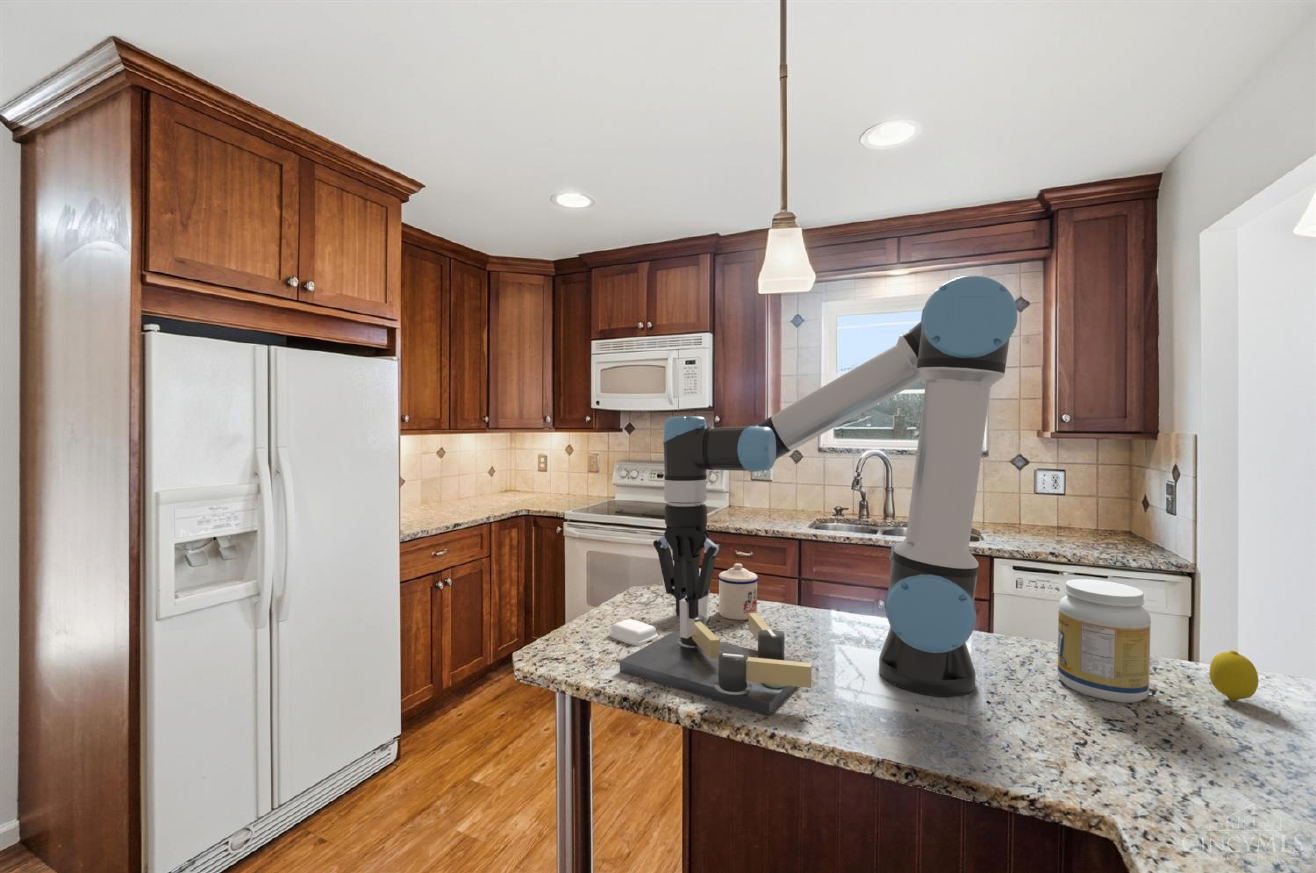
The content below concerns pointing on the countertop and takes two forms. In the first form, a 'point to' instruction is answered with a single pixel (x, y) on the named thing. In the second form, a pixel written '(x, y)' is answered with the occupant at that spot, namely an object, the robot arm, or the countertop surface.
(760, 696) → the dark grey knob panel
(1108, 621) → the supplement tub
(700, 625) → the knob
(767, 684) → the green domed button
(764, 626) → the knob
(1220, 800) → the countertop surface
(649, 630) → the soap
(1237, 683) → the lemon
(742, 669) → the knob
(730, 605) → the teacup with lid
